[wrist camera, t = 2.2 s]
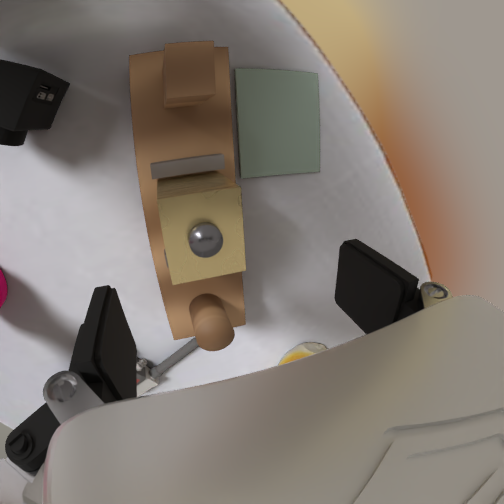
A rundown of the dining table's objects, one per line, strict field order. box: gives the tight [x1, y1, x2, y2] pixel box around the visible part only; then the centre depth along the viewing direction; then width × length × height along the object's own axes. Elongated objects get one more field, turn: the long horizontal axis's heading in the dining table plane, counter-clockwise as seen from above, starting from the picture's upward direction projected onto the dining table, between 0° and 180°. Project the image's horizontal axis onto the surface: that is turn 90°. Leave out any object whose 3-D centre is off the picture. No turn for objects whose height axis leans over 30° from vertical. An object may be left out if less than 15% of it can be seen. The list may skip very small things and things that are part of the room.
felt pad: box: [234, 68, 320, 179], centre depth 23 cm, size 10×8×1 cm
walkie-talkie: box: [136, 338, 199, 397], centre depth 27 cm, size 9×4×20 cm
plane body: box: [129, 41, 246, 351], centre depth 19 cm, size 24×7×10 cm, turn 3°
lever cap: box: [157, 171, 246, 285], centre depth 17 cm, size 5×4×7 cm
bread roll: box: [279, 342, 327, 365], centre depth 37 cm, size 8×9×4 cm
